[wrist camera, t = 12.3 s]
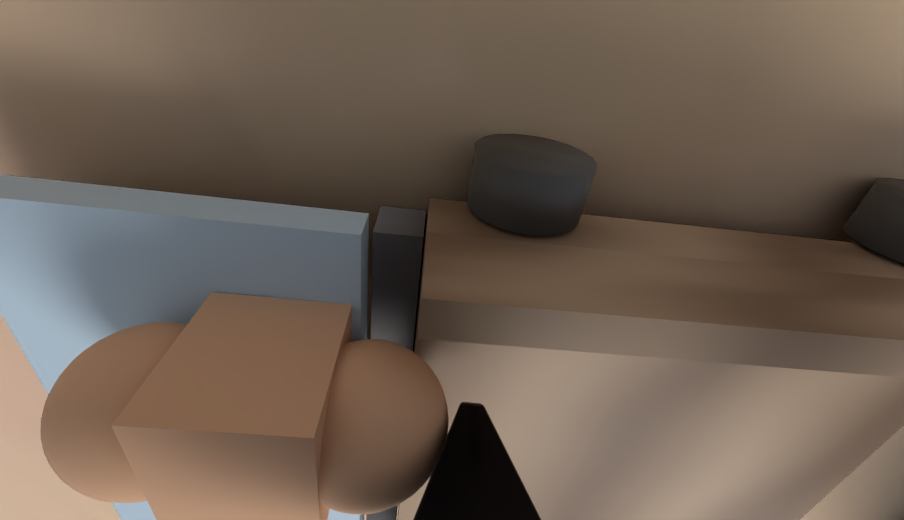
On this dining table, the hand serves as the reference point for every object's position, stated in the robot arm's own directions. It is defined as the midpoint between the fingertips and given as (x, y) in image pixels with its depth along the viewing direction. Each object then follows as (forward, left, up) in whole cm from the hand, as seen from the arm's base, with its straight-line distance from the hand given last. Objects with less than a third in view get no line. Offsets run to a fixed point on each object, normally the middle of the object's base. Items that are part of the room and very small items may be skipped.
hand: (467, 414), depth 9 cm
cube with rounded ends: (+4, 0, -1) cm, 4 cm away
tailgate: (+2, +4, -2) cm, 5 cm away
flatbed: (-5, +4, -4) cm, 7 cm away
